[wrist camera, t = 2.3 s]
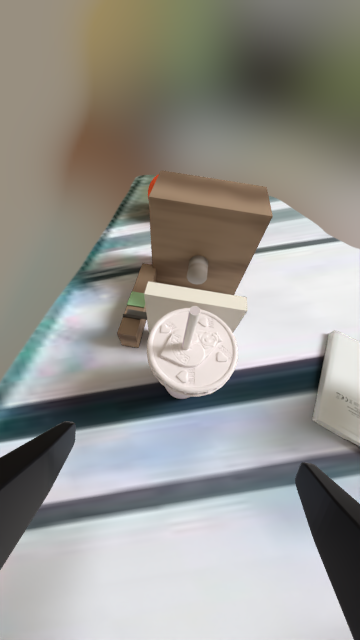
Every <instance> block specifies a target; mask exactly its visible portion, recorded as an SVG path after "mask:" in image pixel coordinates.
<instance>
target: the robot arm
mask: <svg viewBox="0 0 360 640" xmlns="http://www.w3.org/2000/svg"><path fill="white" fill-rule="evenodd" d="M75 430H76V425H75V423H73V422H68V421H64V422H62V423H60V424H59V425H57V426H55V427H53V428H52V429H50V430H48V431H46V432H45V433H43V434H41V435H39V436H38V437H36V438H34V439H32V440H31V441H29V442H27V443H25V444H24V445H22V446H20V447H18V448H17V449H15V450H13V451H11V452H10V453H8V454H6V455H4V456H3V457H1V458H0V570H1V568H2V567H3V565H4V563H5V562H6V560H7V559H8V557H9V555H10V554H11V552H12V551H13V549H14V547H15V546H16V544H17V543H18V541H19V539H20V538H21V536H22V535H23V533H24V532H25V530H26V528H27V527H28V525H29V524H30V522H31V520H32V519H33V517H34V516H35V514H36V512H37V511H38V509H39V508H40V506H41V504H42V503H43V501H44V500H45V498H46V496H47V495H48V493H49V491H50V489H51V488H52V486H53V484H54V482H55V480H56V478H57V476H58V474H59V472H60V470H61V469H62V467H63V465H64V463H65V461H66V459H67V457H68V455H69V453H70V451H71V449H72V447H73V445H74V442H75ZM295 483H296V487H297V490H298V494H299V497H300V500H301V503H302V506H303V509H304V512H305V515H306V518H307V521H308V524H309V527H310V530H311V533H312V536H313V539H314V542H315V544H316V547H317V549H318V552H319V554H320V557H321V559H322V562H323V564H324V567H325V569H326V572H327V574H328V577H329V579H330V581H331V584H332V586H333V589H334V591H335V594H336V596H337V599H338V601H339V604H340V606H341V609H342V611H343V614H344V616H345V619H346V621H347V624H348V626H349V629H350V631H351V633H352V636H353V638H354V640H360V504H359V503H358V502H357V501H356V500H355V499H353V498H352V497H351V496H350V495H349V494H348V493H347V492H345V491H344V490H343V489H342V488H341V487H340V486H338V485H337V484H336V483H335V482H334V481H333V480H332V479H330V478H329V477H328V476H327V475H326V474H325V473H323V472H322V471H321V470H320V469H319V468H318V467H317V466H315V465H314V464H311V463H305V462H302V463H301V464H300V467H299V470H298V472H297V475H296V478H295Z"/></svg>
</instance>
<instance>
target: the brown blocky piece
mask: <svg viewBox="0 0 360 640" xmlns="http://www.w3.org/2000/svg"><path fill="white" fill-rule="evenodd" d="M149 212H150V230H151V249H152V265H149V264H142V266H141V269H140V272H139V275H138V277H137V280H136V283H135V285H134V288H133V291H132V292H131V295H130V297H129V300H128V303H127V307H126V310H125V313H124V314H123V318H122V321H121V324H120V327H119V329H118V332H117V334H118V337H119V339H120V341H121V344H122V345H125V346H131V347H137V348H139V344H140V341H141V337H142V334H143V330H144V327H145V323H146V320H145V319H139V318H133V317H127V314H126V313H127V310H128V309H131V310H137V311H143V312H146V305H145V297H144V293H145V290H146V287H147V284H148V281H149V282H155V283H162V284H168V285H174V286H180V287H186V288H192V289H198V290H204V291H211V292H217V293H223V294H229V295H234V294H235V291H236V289H237V287H238V285H239V283H240V281H241V279H242V277H243V275H244V273H245V271H246V269H247V267H248V265H249V263H250V261H251V259H252V257H253V255H254V253H255V251H256V249H257V247H258V245H259V243H260V241H261V239H262V237H263V235H264V233H265V231H266V229H267V227H268V225H269V223H270V221H271V218H272V211H271V206H270V202H269V197H268V192H267V187H263V186H256V185H250V184H243V183H237V182H231V181H225V180H218V179H212V178H205V177H199V176H193V175H187V174H180V173H174V172H167V171H160V173H159V176H158V178H157V180H156V182H155V184H154V186H153V188H152V191H151V193H150V195H149Z"/></svg>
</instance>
